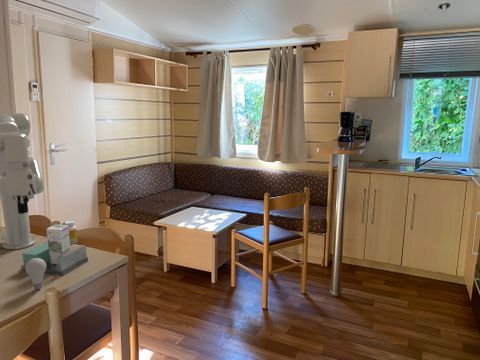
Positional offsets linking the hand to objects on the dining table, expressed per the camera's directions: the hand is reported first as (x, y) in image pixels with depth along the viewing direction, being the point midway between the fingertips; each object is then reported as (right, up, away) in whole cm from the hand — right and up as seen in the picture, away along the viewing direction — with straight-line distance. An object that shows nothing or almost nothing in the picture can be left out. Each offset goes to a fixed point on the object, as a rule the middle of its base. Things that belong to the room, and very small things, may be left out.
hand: (23, 212), depth 143 cm
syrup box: (+15, -19, 0) cm, 24 cm away
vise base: (+13, -21, 0) cm, 24 cm away
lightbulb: (+16, -24, -19) cm, 35 cm away
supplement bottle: (+7, -16, +26) cm, 31 cm away
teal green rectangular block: (+7, -19, +2) cm, 20 cm away
